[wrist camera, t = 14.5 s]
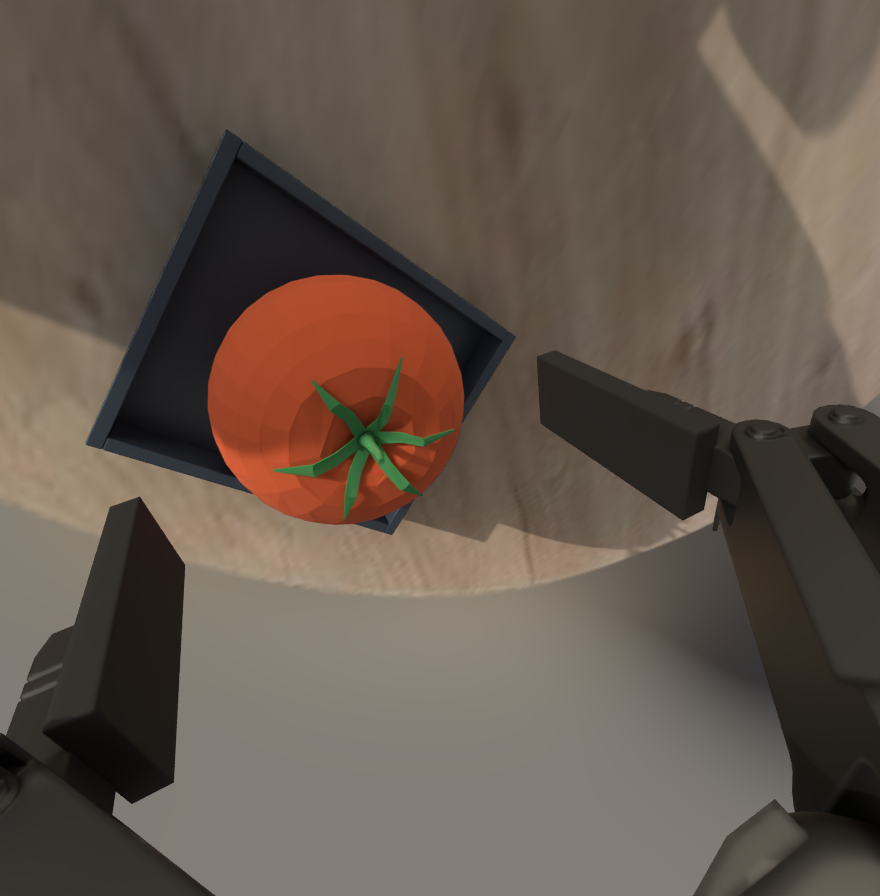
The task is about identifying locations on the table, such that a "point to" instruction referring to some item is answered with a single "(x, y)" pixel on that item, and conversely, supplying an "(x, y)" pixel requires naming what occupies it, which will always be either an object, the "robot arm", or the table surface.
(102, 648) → the robot arm
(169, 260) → the tray
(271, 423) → the tomato
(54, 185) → the table surface
